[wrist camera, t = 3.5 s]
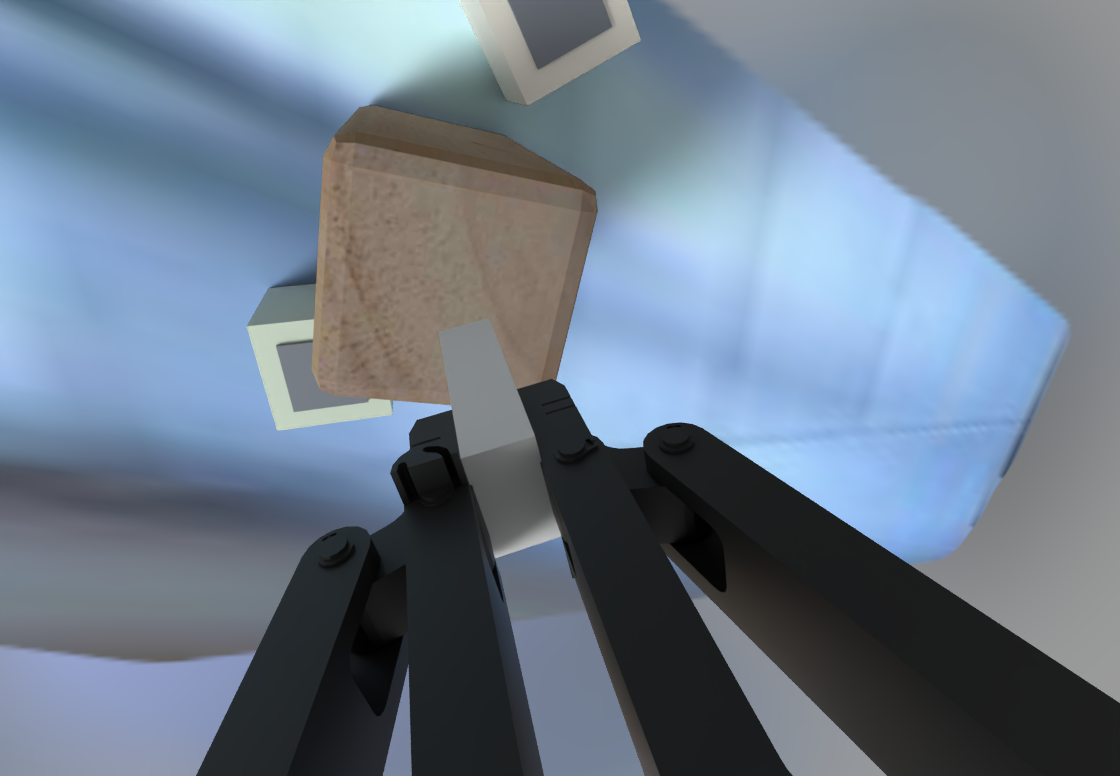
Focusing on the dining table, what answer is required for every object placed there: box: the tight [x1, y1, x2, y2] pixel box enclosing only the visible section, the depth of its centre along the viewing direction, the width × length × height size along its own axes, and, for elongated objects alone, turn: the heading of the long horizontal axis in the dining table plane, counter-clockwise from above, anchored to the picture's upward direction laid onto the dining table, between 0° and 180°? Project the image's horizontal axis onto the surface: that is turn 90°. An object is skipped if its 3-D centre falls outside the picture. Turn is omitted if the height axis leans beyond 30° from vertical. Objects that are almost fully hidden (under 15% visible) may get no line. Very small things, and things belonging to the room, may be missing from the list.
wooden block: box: [311, 105, 598, 405], centre depth 31 cm, size 10×10×20 cm
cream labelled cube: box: [458, 0, 641, 106], centre depth 33 cm, size 7×7×7 cm
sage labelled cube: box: [247, 284, 393, 431], centre depth 39 cm, size 7×7×7 cm
